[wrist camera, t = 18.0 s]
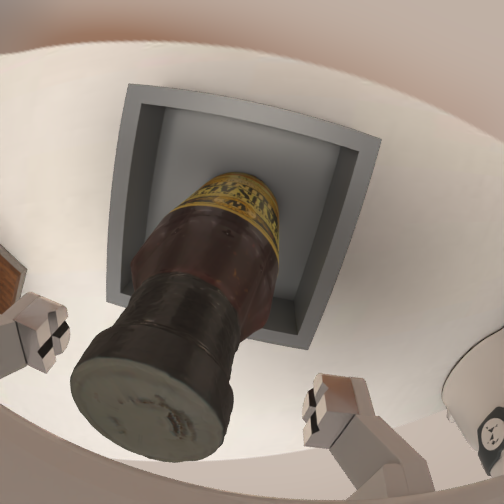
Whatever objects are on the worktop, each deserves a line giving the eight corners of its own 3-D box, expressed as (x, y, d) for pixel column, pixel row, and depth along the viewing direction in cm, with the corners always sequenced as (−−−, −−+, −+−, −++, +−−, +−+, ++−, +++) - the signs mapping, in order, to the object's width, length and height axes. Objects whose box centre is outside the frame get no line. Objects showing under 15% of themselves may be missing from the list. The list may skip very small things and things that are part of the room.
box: (356, 135, 23) (381, 139, 17) (301, 308, 29) (307, 350, 23) (158, 91, 22) (128, 83, 17) (133, 269, 28) (106, 301, 23)
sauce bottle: (291, 189, 24) (362, 394, 6) (257, 258, 26) (239, 502, 8) (212, 154, 23) (40, 264, 5) (183, 226, 25) (45, 429, 7)
